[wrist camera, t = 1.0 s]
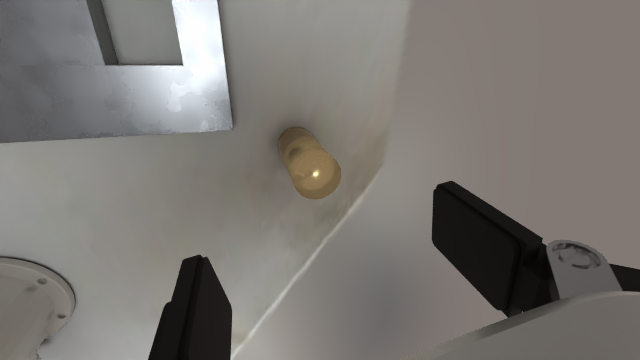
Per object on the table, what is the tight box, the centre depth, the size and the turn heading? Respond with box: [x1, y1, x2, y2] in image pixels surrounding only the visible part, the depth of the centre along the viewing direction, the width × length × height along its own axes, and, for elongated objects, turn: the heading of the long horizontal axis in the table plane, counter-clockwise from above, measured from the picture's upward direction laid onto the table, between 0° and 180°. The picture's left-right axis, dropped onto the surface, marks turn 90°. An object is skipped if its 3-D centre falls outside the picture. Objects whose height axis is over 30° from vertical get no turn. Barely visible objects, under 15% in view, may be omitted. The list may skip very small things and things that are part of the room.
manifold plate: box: [0, 0, 233, 143], centre depth 22 cm, size 18×26×3 cm
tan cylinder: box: [278, 127, 341, 199], centre depth 29 cm, size 4×4×10 cm
